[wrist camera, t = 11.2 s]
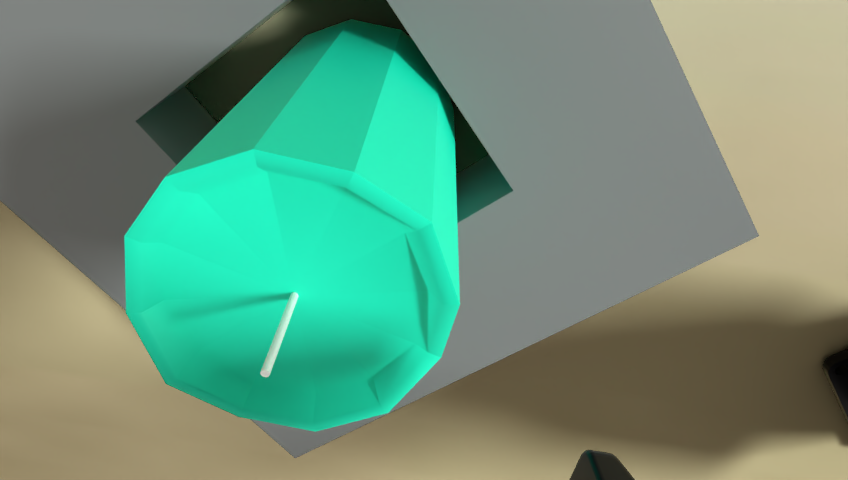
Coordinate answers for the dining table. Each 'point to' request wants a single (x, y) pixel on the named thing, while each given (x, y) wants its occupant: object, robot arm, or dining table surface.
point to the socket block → (476, 185)
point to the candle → (307, 238)
